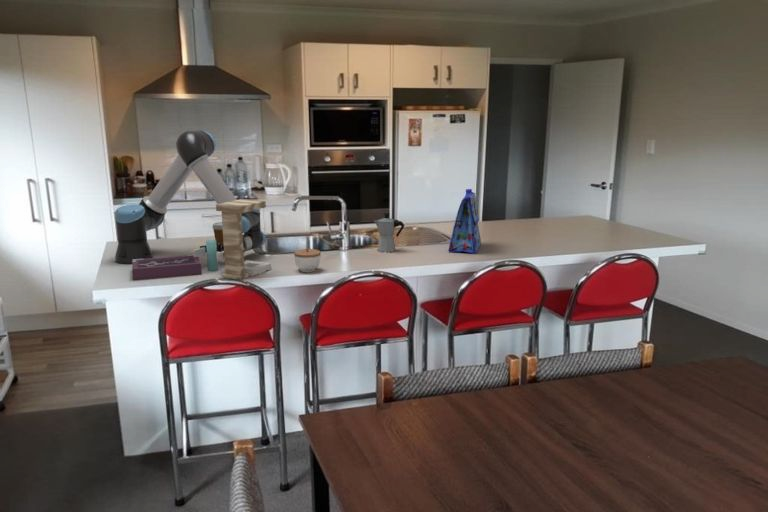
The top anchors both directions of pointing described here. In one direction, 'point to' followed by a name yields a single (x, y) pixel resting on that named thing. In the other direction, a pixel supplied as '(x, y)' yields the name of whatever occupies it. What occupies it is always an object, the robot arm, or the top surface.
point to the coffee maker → (387, 233)
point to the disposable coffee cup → (218, 232)
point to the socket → (255, 267)
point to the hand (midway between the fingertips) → (205, 255)
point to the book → (165, 267)
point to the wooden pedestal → (235, 234)
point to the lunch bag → (466, 226)
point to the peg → (211, 255)
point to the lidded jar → (307, 259)
